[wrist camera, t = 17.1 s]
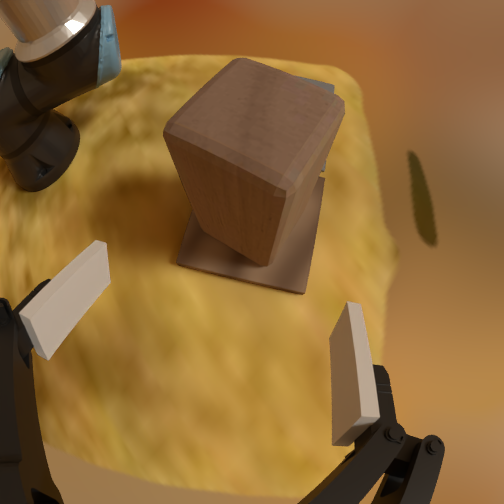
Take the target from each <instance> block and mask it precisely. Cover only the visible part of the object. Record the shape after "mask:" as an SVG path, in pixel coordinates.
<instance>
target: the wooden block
mask: <svg viewBox="0 0 504 504" xmlns="http://www.w3.org/2000/svg"><path fill="white" fill-rule="evenodd" d="M344 114H345V105H344V101H343V100H342V99H341V98H340V97H339V96H338V95H336V94H334V93H332V92H329V91H327V90H325V89H323V88H321V87H319V86H317V85H314V84H312V83H310V82H307V81H305V80H303V79H300V78H298V77H296V76H293V75H291V74H288V73H286V72H283V71H281V70H278V69H275V68H273V67H270V66H267V65H265V64H262V63H259V62H256V61H253V60H250V59H247V58H237V59H234V60H232V61H231V62H230V63H229V64H227V65H226V66H225V67H224V68H223V69H222V70H221V71H219V72H218V73H217V74H216V75H215V76H214V77H213V78H212V79H211V80H209V81H208V82H207V83H206V84H205V85H204V86H203V87H202V88H201V89H200V90H199V91H198V92H197V93H196V94H195V95H194V96H192V97H191V98H190V99H189V100H188V101H187V102H186V103H185V104H184V105H183V106H182V107H181V108H180V109H179V110H178V111H177V112H176V113H175V115H174V116H173V117H172V118H171V119H170V120H169V121H168V122H167V124H166V126H165V128H164V131H163V137H164V139H165V142H166V144H167V147H168V150H169V152H170V155H171V157H172V160H173V162H174V165H175V167H176V169H177V172H178V174H179V177H180V179H181V182H182V184H183V187H184V189H185V191H186V194H187V196H188V199H189V201H190V203H191V206H192V208H193V211H194V213H195V215H196V218H197V220H198V222H199V225H200V227H201V228H202V230H203V231H204V232H205V233H207V234H209V235H210V236H212V237H214V238H215V239H217V240H219V241H220V242H222V243H224V244H225V245H227V246H229V247H230V248H232V249H234V250H235V251H237V252H239V253H240V254H242V255H244V256H245V257H247V258H249V259H250V260H252V261H254V262H255V263H257V264H259V265H261V266H266V267H268V266H269V265H270V264H272V263H273V261H274V260H275V258H276V257H277V255H278V253H279V252H280V250H281V248H282V247H283V245H284V243H285V242H286V240H287V238H288V237H289V235H290V233H291V232H292V230H293V228H294V227H295V225H296V223H297V222H298V220H299V218H300V217H301V215H302V213H303V212H304V210H305V208H306V205H307V203H308V201H309V198H310V196H311V194H312V191H313V189H314V187H315V184H316V182H317V180H318V177H319V175H320V173H321V170H322V168H323V165H324V163H325V161H326V158H327V156H328V153H329V151H330V149H331V146H332V144H333V141H334V139H335V136H336V134H337V131H338V129H339V126H340V124H341V122H342V119H343V117H344Z"/></svg>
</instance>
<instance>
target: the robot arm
mask: <svg viewBox="0 0 504 504" xmlns="http://www.w3.org/2000/svg"><path fill="white" fill-rule="evenodd" d="M0 18H1V19H2V20H3V21H4V23H5V24H6V25H7V27H8V28H9V29H10V30H11V32H12V33H13V34H14V35H15V37H16V38H17V39H18V41H17V44H16V48H15V53H13V50H12V49H10V48H8V47H7V48H4V49H2V50H0V156H1V157H2V158H3V159H4V160H5V162H6V164H7V166H8V168H9V170H10V172H11V174H12V176H13V178H14V180H15V181H16V183H17V184H18V185H20V186H21V187H22V188H23V189H25V190H27V191H30V192H34V191H39V190H42V189H44V188H46V187H48V186H49V185H51V184H52V183H54V182H55V181H56V180H57V179H58V178H59V177H60V176H61V175H62V174H63V173H64V172H65V171H66V169H67V168H68V167H69V165H70V164H71V162H72V161H73V159H74V157H75V155H76V153H77V150H78V147H79V142H80V134H79V130H78V128H77V127H76V125H75V124H74V123H73V121H72V120H71V119H69V118H68V117H66V116H64V115H63V114H61V113H59V112H57V111H55V110H54V109H53V108H55V107H57V106H59V105H61V104H63V103H65V102H67V101H69V100H71V99H73V98H75V97H77V96H80V95H82V94H84V93H86V92H88V91H91V90H93V89H96V88H98V87H99V86H100V85H102V84H104V83H106V82H108V81H111V80H113V79H114V78H116V77H117V76H118V75H119V73H120V71H121V57H120V50H119V43H118V37H117V31H116V25H115V19H114V14H113V10H112V7H111V6H110V5H106V6H101V7H99V8H98V7H97V5H96V3H95V1H94V0H0ZM110 283H111V281H110V273H109V264H108V254H107V243H105V242H101V241H98V240H95V241H94V242H93V243H92V244H91V245H89V246H88V247H87V248H86V249H85V250H84V251H82V252H81V253H80V254H79V255H78V256H77V257H76V258H75V259H74V260H72V261H71V262H70V263H69V264H68V265H67V266H66V267H65V268H64V269H63V270H62V271H60V272H59V273H58V274H57V275H56V276H55V277H54V278H53V279H52V280H51V279H47V280H45V281H43V282H41V283H40V284H39V285H38V286H37V287H36V288H35V289H34V291H32V292H31V293H30V294H29V295H28V296H27V297H26V298H25V299H24V300H23V301H22V302H21V303H20V304H19V305H18V306H17V307H16V308H15V309H14V310H13V311H12V309H11V306H10V304H9V302H8V300H7V299H5V298H0V504H64V503H63V500H62V497H61V494H60V492H59V490H58V488H57V487H56V485H55V484H54V482H53V480H52V478H51V474H50V471H49V467H48V463H47V459H46V455H45V451H44V446H43V441H42V436H41V431H40V426H39V420H38V413H37V406H36V398H35V389H34V379H33V365H32V354H31V349H32V348H33V347H34V348H35V351H36V353H37V355H39V356H41V357H43V358H44V359H46V360H48V361H49V359H50V358H51V356H52V355H53V354H54V352H55V351H56V350H57V348H58V347H59V346H60V344H61V343H62V342H63V340H64V339H65V338H66V337H67V335H68V334H69V333H70V331H71V330H72V329H73V328H74V326H75V325H76V324H77V323H78V321H79V320H80V319H81V318H82V316H83V315H84V314H85V313H86V311H87V310H88V309H89V308H90V306H91V305H92V304H93V303H94V302H95V300H96V299H97V298H98V297H99V296H100V295H101V293H102V292H103V291H104V290H105V289H106V287H107V286H108V285H109V284H110ZM329 341H330V360H331V387H332V445H333V446H349V445H351V444H352V443H353V442H354V443H355V449H354V450H353V451H351V452H350V453H349V454H348V455H346V456H345V459H344V460H343V461H342V462H341V463H340V464H339V465H338V466H337V467H336V468H335V469H334V470H333V471H332V472H331V473H330V474H329V475H328V476H327V477H326V478H325V479H324V480H323V481H322V482H321V483H320V484H319V485H318V486H317V487H316V488H315V489H314V490H313V491H311V492H310V493H309V494H308V495H307V496H306V497H305V498H303V499H302V500H301V501H300V502H299V503H298V504H359V502H360V501H361V500H362V499H363V498H364V497H365V496H366V494H367V493H368V492H369V491H370V490H371V488H372V487H373V486H374V484H375V483H376V482H377V481H378V480H379V478H380V477H381V476H382V475H383V473H385V475H384V477H383V480H382V482H381V484H380V486H379V488H378V491H377V493H376V495H375V497H374V499H373V501H372V503H371V504H430V501H431V498H432V495H433V492H434V489H435V486H436V483H437V479H438V476H439V472H440V468H441V465H442V461H443V457H444V451H445V447H444V443H443V442H442V440H441V439H440V438H439V437H437V436H435V435H428V436H426V437H425V438H424V439H419V438H416V437H413V436H410V435H408V434H406V432H405V430H404V428H403V427H402V426H401V425H400V424H398V423H397V420H396V414H395V407H394V401H393V396H392V394H391V393H392V390H391V386H390V379H389V375H388V373H387V371H386V370H385V368H384V366H380V365H373V364H372V359H371V353H370V348H369V342H368V337H367V332H366V327H365V322H364V317H363V312H362V308H361V304H358V303H353V302H349V301H347V303H346V305H345V307H344V309H343V311H342V313H341V316H340V318H339V320H338V322H337V324H336V326H335V328H334V330H333V332H332V334H331V336H330V338H329Z"/></svg>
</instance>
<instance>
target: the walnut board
mask: <svg viewBox="0 0 504 504" xmlns="http://www.w3.org/2000/svg"><path fill="white" fill-rule="evenodd" d="M324 181H325V178H323V177H318V180H317V182H316V184H315V187H314V189H313V191H312V194H311V196H310V198H309V201H308V203H307V205H306V208H305V210H304V212H303V213H302V215H301V217H300V218H299V220H298V222H297V223H296V225H295V227H294V228H293V230H292V232H291V233H290V235H289V237H288V238H287V240H286V242H285V243H284V245H283V247H282V248H281V250H280V252H279V253H278V255H277V257H276V258H275V260H274V261H273V263H272V264H270V265H269V266H268V267H266V266H261V265H259V264H257V263H255V262H254V261H252V260H250V259H249V258H247V257H245V256H244V255H242V254H240V253H239V252H237V251H235V250H234V249H232V248H230V247H229V246H227V245H225V244H224V243H222V242H220V241H219V240H217V239H215V238H214V237H212V236H210V235H209V234H207V233H205V232H204V231H203V230H202V228H201V227H200V225H199V222H198V220H197V218H196V215H195V213H194V211H193V210H192V213H191V216H190V219H189V222H188V225H187V228H186V231H185V235H184V238H183V241H182V244H181V247H180V251H179V254H178V257H177V261H176V263H177V264H178V265H180V266H184V267H188V268H192V269H196V270H200V271H204V272H208V273H212V274H216V275H220V276H224V277H228V278H232V279H237V280H241V281H245V282H249V283H253V284H258V285H262V286H266V287H271V288H275V289H280V290H284V291H288V292H293V293H297V294H302V295H303V294H305V291H306V286H307V281H308V276H309V271H310V266H311V260H312V255H313V249H314V244H315V238H316V232H317V226H318V220H319V214H320V208H321V201H322V195H323V188H324Z"/></svg>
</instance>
